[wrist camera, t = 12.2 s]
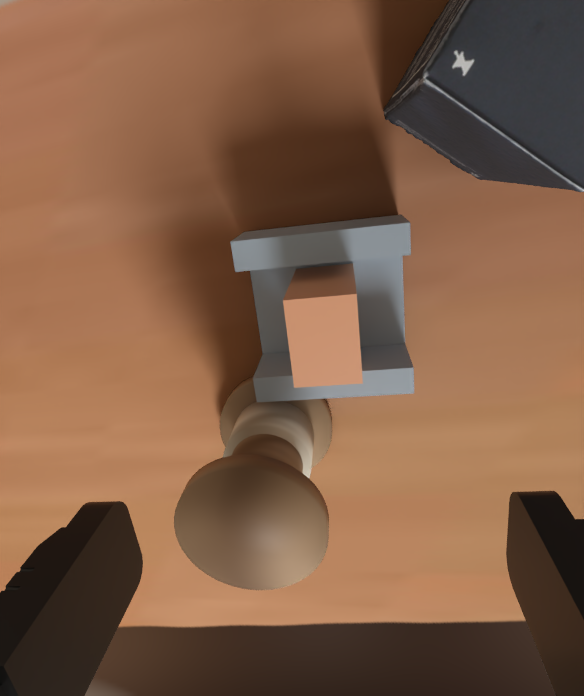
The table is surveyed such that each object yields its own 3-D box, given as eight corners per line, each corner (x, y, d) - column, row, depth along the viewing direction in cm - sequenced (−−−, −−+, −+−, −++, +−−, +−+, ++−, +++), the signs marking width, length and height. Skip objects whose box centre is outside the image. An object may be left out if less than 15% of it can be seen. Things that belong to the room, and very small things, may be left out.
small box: (486, 188, 23) (590, 207, 13) (377, 115, 22) (406, 80, 13) (653, -41, 19) (970, -246, 10) (529, -138, 18) (737, -468, 9)
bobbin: (326, 368, 28) (320, 465, 19) (336, 465, 30) (334, 590, 21) (214, 376, 29) (158, 471, 20) (233, 469, 31) (190, 590, 22)
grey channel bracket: (398, 212, 24) (409, 222, 20) (403, 358, 27) (414, 393, 23) (248, 228, 25) (230, 241, 21) (269, 367, 28) (256, 402, 24)
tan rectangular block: (353, 263, 24) (356, 294, 18) (358, 335, 25) (362, 383, 20) (296, 268, 24) (282, 300, 19) (304, 339, 26) (294, 387, 20)
